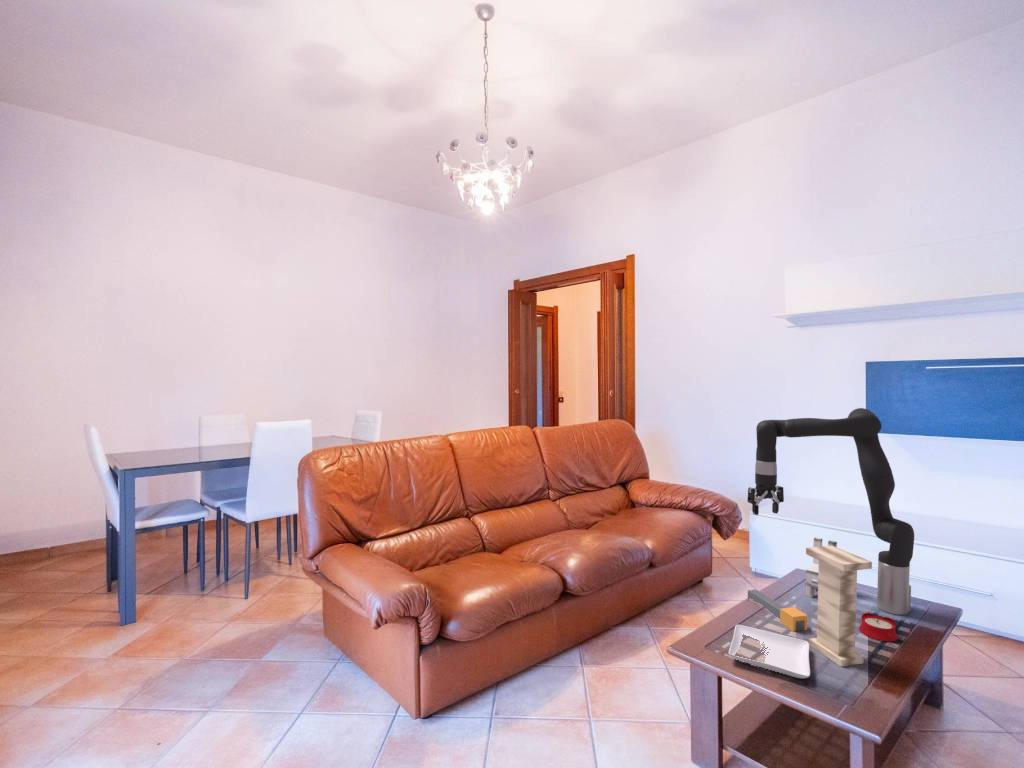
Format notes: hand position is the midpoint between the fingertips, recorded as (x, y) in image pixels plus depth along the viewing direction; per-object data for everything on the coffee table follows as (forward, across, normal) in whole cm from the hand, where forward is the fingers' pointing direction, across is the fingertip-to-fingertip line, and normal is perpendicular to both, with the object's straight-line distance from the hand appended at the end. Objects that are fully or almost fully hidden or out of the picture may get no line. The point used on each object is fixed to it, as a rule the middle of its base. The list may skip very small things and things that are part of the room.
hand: (765, 513), depth 196 cm
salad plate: (+32, -28, -38) cm, 57 cm away
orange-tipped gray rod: (+32, -7, -14) cm, 36 cm away
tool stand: (+32, -7, -40) cm, 52 cm away
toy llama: (+32, +22, -4) cm, 39 cm away
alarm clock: (+32, +18, -32) cm, 49 cm away
